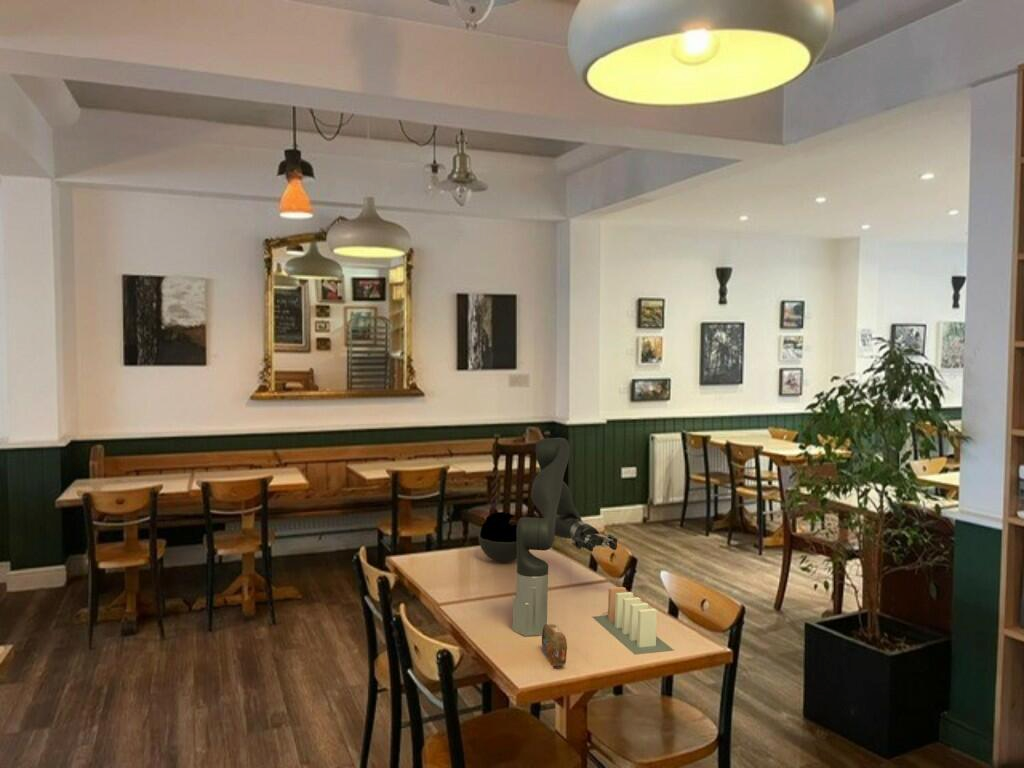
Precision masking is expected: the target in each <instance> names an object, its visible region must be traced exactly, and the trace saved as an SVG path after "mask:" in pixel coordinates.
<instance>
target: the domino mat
mask: <svg viewBox="0 0 1024 768" xmlns="http://www.w3.org/2000/svg"><path fill="white" fill-rule="evenodd" d="M592 618H593V619H594V620H595V621H596V622H597V623H598V624H599V625H600V626H602V627H603V628H604V629H605V630H606V631H607V632H609V634H611V635H612V636H613V637H614V638H615V639H616V640H617V641H619V643H620V644H621V645H623V646H624V647H625V648H626V649H628V650H629V651H630V652H631V653H632V654H633V655H644V654H655V653H663V652H664V653H665V652H672V651H673V652H674V651H675V649H673V648H672V647H671V646H669V645H668V644H667V643H666V642H665V641H663V640H662V639H661V638H659V637H658V636H657V635H656V646H648V647H639V646H637V640H633V641H631V640H630V639H629V634H623V633H622V628H616V627H615V622H609V621H608V614H607V615H595V616H592Z"/></svg>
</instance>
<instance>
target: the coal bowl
mask: <svg viewBox="0 0 1024 768" xmlns="http://www.w3.org/2000/svg"><path fill="white" fill-rule="evenodd" d="M514 517H515V515H514V514H511V513H510V512H506V513H505V512H504V511H497V512H493V513H491V514H490V515H488V516H487V517H486V519H485V522H484V523H482V527H481V528H480V534H478V537H477V538H478V542H479V543H478V544H479V545H480V546H479V547H480V548H481V550H482V552H483V553H484V554H485V556H486V557H488V558H489V559H491V560H492V561H495V562H497V563H503V564H504V563H512V562H514V561H517V524H516V525H515V524H514V525H513V524H511V523H509V522H510V520H511V519H513V518H514Z"/></svg>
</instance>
